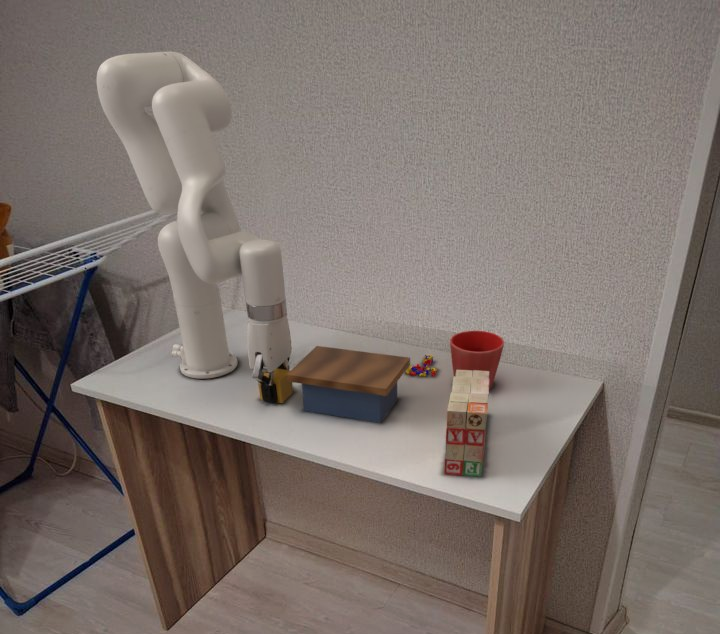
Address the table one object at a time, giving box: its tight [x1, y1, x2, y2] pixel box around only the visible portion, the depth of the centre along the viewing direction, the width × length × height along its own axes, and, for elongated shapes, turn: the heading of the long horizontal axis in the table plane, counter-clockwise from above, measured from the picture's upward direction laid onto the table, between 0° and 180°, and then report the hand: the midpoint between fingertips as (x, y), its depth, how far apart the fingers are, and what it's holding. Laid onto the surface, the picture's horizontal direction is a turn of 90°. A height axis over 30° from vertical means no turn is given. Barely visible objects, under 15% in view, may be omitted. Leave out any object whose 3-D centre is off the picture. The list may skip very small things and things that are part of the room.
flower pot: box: [449, 330, 505, 390], centre depth 137 cm, size 11×11×10 cm
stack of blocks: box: [443, 370, 490, 478], centre depth 117 cm, size 21×6×12 cm, turn 169°
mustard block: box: [257, 368, 294, 404], centre depth 137 cm, size 5×5×5 cm
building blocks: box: [405, 353, 438, 378], centre depth 146 cm, size 6×8×2 cm
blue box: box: [301, 382, 398, 424], centre depth 132 cm, size 16×10×7 cm, turn 69°
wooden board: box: [287, 345, 411, 396], centre depth 129 cm, size 20×14×2 cm
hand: (276, 394), depth 138 cm, fingers closed on mustard block, 5 cm apart
